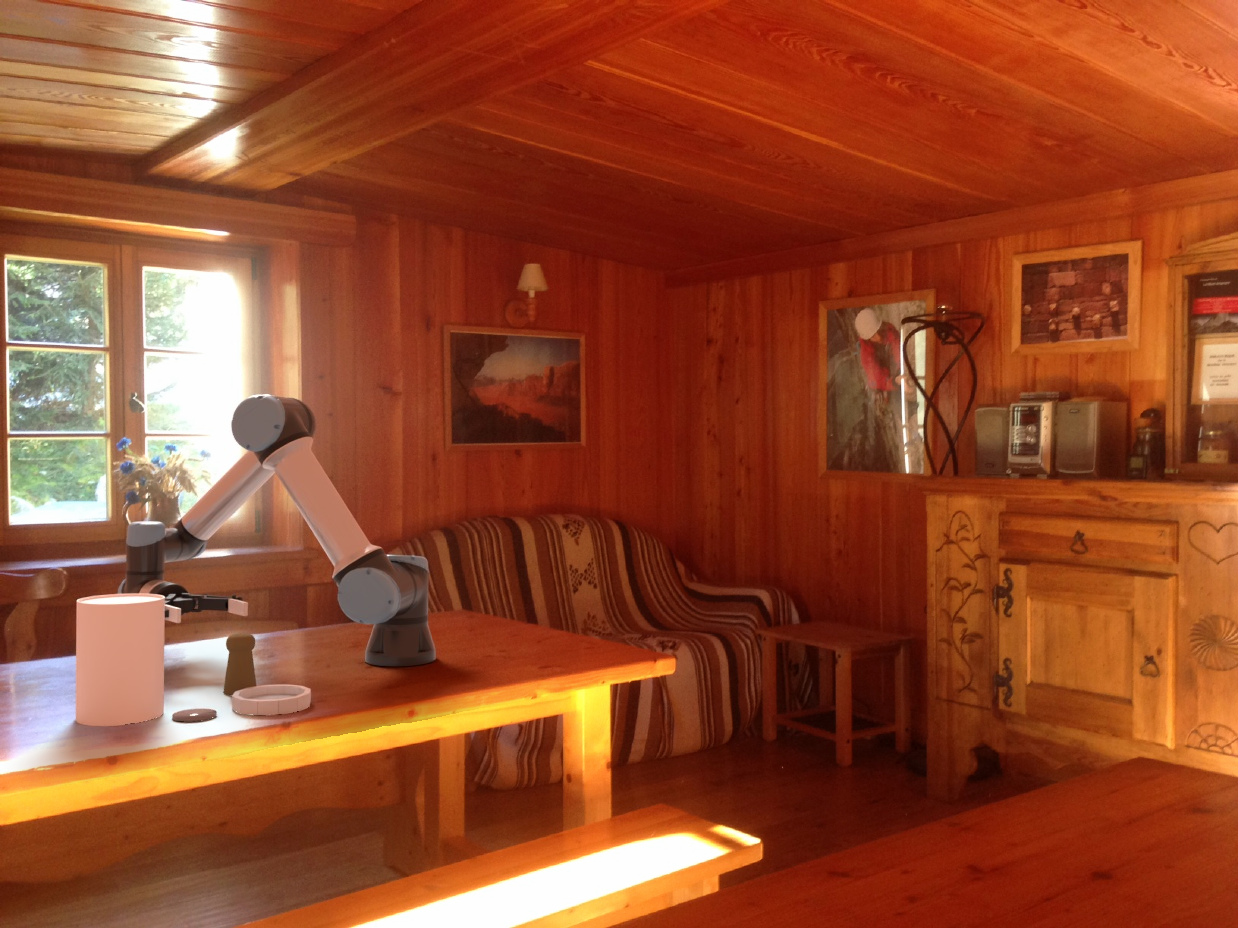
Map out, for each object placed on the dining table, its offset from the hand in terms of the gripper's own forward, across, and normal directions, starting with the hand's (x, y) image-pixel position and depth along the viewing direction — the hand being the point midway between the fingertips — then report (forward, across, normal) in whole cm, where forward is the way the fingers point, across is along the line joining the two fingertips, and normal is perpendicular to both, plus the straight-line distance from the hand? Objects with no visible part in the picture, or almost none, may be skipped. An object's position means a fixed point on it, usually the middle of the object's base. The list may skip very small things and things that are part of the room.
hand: (213, 612), depth 203 cm
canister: (+13, +23, -14) cm, 30 cm away
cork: (+10, 0, -14) cm, 17 cm away
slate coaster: (+23, +14, -14) cm, 30 cm away
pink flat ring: (+25, +1, -14) cm, 28 cm away
